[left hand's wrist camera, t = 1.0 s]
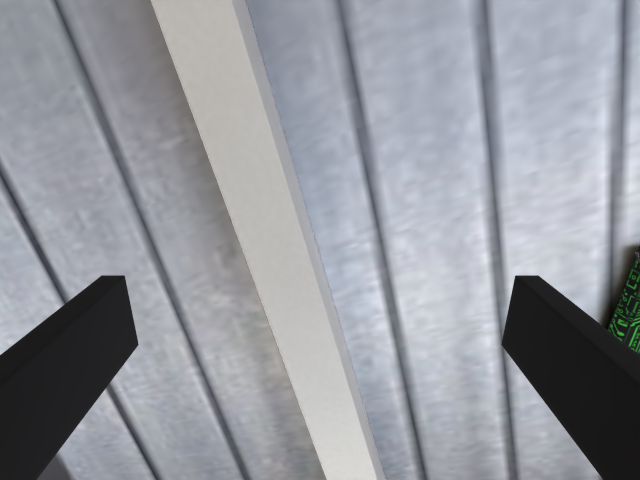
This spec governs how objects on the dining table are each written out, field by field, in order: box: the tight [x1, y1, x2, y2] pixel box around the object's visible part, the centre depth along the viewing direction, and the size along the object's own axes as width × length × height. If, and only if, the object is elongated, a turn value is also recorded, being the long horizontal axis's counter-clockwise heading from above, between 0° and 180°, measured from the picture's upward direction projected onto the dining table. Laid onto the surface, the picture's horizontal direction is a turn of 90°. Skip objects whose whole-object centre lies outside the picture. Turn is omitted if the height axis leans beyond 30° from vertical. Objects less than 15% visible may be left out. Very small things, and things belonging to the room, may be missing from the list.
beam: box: [150, 0, 386, 480], centre depth 33 cm, size 67×4×8 cm, turn 15°
